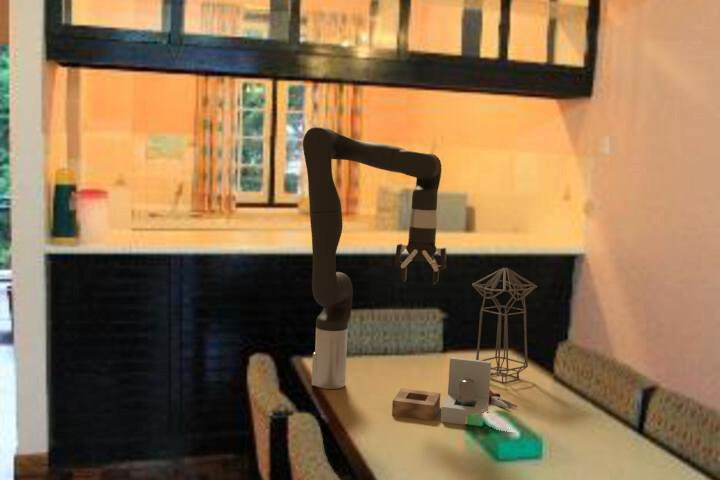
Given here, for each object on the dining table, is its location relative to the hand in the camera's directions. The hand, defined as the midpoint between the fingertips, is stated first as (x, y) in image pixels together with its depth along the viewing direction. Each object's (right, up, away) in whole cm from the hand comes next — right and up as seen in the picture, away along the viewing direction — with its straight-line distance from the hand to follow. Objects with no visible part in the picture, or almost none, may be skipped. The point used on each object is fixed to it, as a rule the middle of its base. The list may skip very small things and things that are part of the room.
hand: (419, 282), depth 216 cm
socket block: (-1, -34, -9) cm, 35 cm away
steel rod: (+11, -35, -13) cm, 39 cm away
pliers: (+18, -34, +3) cm, 39 cm away
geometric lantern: (+27, -31, +25) cm, 49 cm away
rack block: (+11, -35, -13) cm, 39 cm away
